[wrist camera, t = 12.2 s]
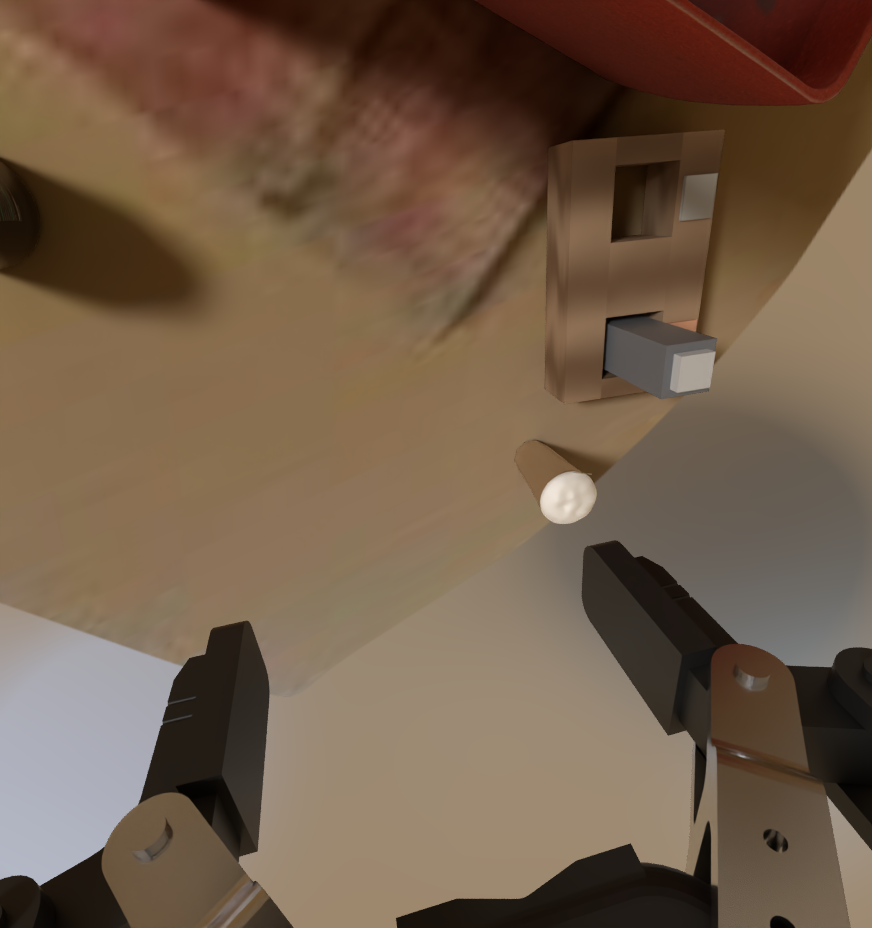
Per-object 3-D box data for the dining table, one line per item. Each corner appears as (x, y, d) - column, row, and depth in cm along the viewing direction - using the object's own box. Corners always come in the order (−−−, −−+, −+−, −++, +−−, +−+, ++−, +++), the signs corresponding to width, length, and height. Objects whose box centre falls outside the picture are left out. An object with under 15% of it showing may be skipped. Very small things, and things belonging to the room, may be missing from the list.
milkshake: (561, 425, 47) (618, 474, 38) (548, 478, 49) (599, 537, 40) (514, 422, 46) (561, 472, 37) (503, 477, 48) (545, 536, 39)
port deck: (548, 147, 37) (574, 139, 33) (687, 137, 39) (728, 128, 35) (544, 389, 45) (566, 405, 41) (660, 372, 47) (691, 385, 43)
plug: (586, 316, 43) (674, 348, 33) (626, 310, 44) (725, 340, 33) (585, 359, 45) (667, 402, 34) (623, 353, 45) (716, 394, 35)
